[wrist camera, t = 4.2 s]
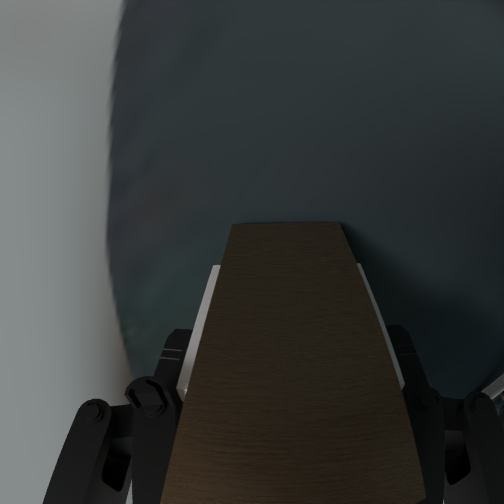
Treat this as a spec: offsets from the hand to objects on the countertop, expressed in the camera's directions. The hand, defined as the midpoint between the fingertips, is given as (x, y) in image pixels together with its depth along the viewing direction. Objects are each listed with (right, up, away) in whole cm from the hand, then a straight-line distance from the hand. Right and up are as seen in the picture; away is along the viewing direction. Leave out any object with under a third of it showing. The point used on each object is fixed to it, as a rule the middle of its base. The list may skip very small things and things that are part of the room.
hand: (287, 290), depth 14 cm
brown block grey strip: (+1, -8, +7) cm, 10 cm away
